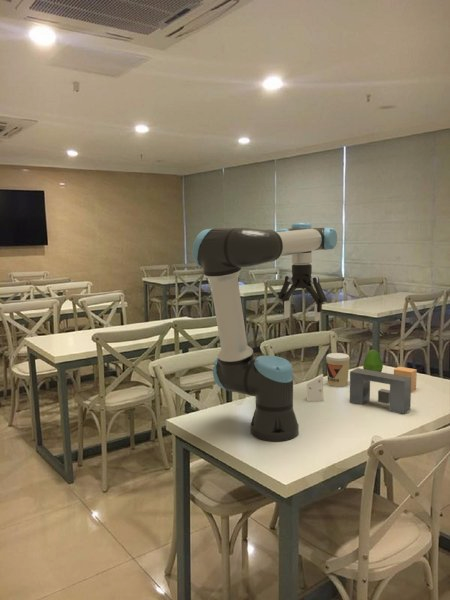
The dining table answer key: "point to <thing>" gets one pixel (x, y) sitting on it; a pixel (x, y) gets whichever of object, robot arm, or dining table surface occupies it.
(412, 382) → the plug
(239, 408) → the dining table surface
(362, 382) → the housing
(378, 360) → the avocado
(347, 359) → the coffee cup
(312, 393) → the white angled block
